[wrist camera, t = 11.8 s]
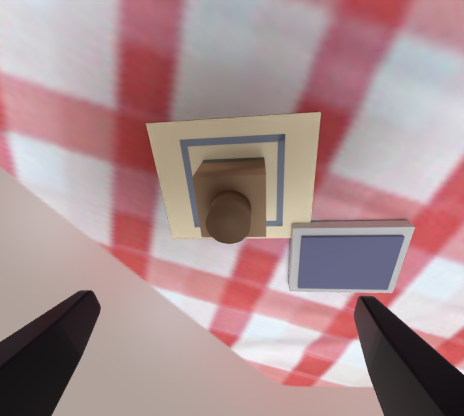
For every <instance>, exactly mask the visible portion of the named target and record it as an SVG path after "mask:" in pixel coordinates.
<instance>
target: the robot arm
mask: <svg viewBox="0 0 464 416" xmlns="http://www.w3.org/2000/svg"><path fill="white" fill-rule="evenodd" d="M100 309H101V307H100V304H99V302H98V300H97V298H96V296H95V294H94V292H93V291H91V290H81V291H78V292H77V293H75V294H74V295H72V296H71V297H69V298H67V299H66V300H64V301H63V302H61V303H60V304H58V305H57V306H55V307H53V308H52V309H51V310H49V311H47V312H46V313H45V314H43V315H41V316H40V317H38V318H37V319H35V320H34V321H32V322H30V323H29V324H27V325H26V326H24V327H23V328H21V329H20V330H18V331H16V332H15V333H13V334H12V335H11V336H9V337H7V338H6V339H4V340H3V341H1V342H0V416H52V414H53V412H54V410H55V408H56V406H57V404H58V402H59V400H60V398H61V396H62V394H63V392H64V390H65V388H66V386H67V385H68V383H69V380H70V379H71V377H72V375H73V373H74V371H75V369H76V367H77V365H78V363H79V361H80V359H81V357H82V355H83V352H84V350H85V348H86V345H87V343H88V340H89V338H90V336H91V333H92V331H93V328H94V326H95V323H96V321H97V318H98V316H99V313H100ZM354 320H355V324H356V328H357V332H358V335H359V339H360V343H361V347H362V351H363V354H364V358H365V362H366V366H367V369H368V373H369V376H370V379H371V382H372V384H373V387H374V390H375V392H376V395H377V398H378V400H379V403H380V406H381V408H382V411H383V414H384V416H464V375H463V374H462V373H461V372H460V371H459V370H458V369H457V368H455V367H454V366H453V365H452V364H451V363H450V362H448V361H447V360H446V359H445V358H444V357H443V356H442V355H440V354H439V353H438V352H437V351H436V350H435V349H434V348H432V347H431V346H430V345H429V344H428V343H427V342H426V341H424V340H423V339H422V338H421V337H420V336H419V335H418V334H416V333H415V332H414V331H413V330H412V329H411V328H410V327H408V326H407V325H406V324H405V323H404V322H403V321H401V320H400V319H399V318H398V317H397V316H396V315H395V314H393V313H392V312H391V311H390V310H389V309H388V308H387V307H385V306H384V305H383V304H382V303H381V302H380V301H379V300H377V299H376V298H375V297H373V296H359V297H358V299H357V303H356V307H355V311H354Z"/></svg>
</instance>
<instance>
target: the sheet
mask: <svg viewBox="0 0 464 416" xmlns="http://www.w3.org/2000/svg"><path fill="white" fill-rule="evenodd" d="M320 118H321V112H309V113H294V114H279V115H264V116H248V117H233V118H218V119H203V120H188V121H173V122H157V123H146V127H147V131H148V135H149V139H150V144H151V148H152V152H153V157H154V161H155V165H156V169H157V174H158V178H159V182H160V187H161V191H162V195H163V200H164V204H165V208H166V212H167V217H168V221H169V225H170V230H171V234H172V238H173V239H214V238H213V237H202V236H201V230H200V224H199V217H198V211H197V205H196V199H195V192H194V186H193V180H192V177H193V175H194V174H195V172H196V171H197V169H198V167H199V166H200V164H201V163H202V161H203V160H210V159H233V158H256V157H264V159H265V169H266V237H246V238H291V229H292V223H311V213H312V202H313V191H314V181H315V170H316V160H317V149H318V139H319V128H320Z"/></svg>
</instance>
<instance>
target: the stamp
mask: <svg viewBox="0 0 464 416" xmlns="http://www.w3.org/2000/svg"><path fill="white" fill-rule="evenodd" d="M192 180H193V186H194V192H195V199H196V205H197V211H198V217H199V224H200V230H201V236H202V237H213V238H214V239H215V240H217V241H219V242H222V243H227V244H233V243H237V242H240V241H242V240H243V239H244V238H246V237H266V169H265V159H264V157H256V158H233V159H210V160H203V161H202V163H201V164H200V166H199V167H198V169H197V171H196V172H195V174H194V175H193V177H192Z"/></svg>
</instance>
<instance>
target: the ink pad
mask: <svg viewBox="0 0 464 416" xmlns="http://www.w3.org/2000/svg"><path fill="white" fill-rule="evenodd" d="M414 229H415V226H413V225H412V224H411V223H410V222H409V221H408V220H383V221H318V222H311V223H292V229H291V242H290V261H289V281H288V284H289V290H290V291H303V292H362V293H393V290H394V287H395V284H396V282H397V279H398V276H399V273H400V270H401V267H402V264H403V261H404V258H405V255H406V252H407V249H408V246H409V243H410V240H411V238H412V235H413V232H414Z"/></svg>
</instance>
